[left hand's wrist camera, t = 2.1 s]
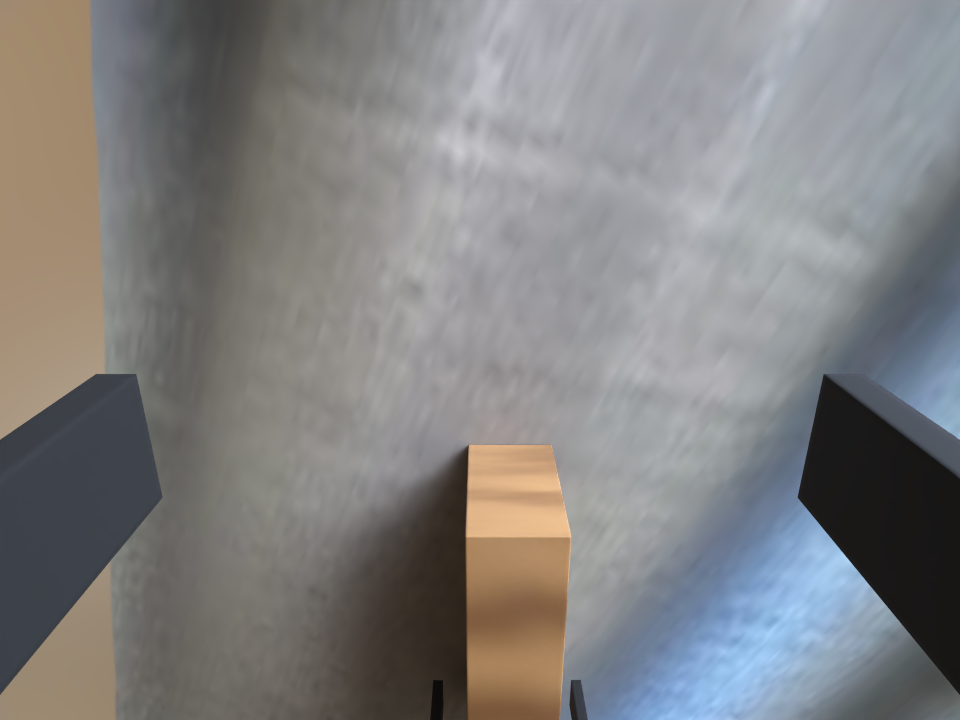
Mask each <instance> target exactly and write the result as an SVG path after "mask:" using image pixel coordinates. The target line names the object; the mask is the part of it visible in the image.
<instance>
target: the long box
mask: <svg viewBox="0 0 960 720" xmlns="http://www.w3.org/2000/svg"><path fill="white" fill-rule="evenodd" d="M465 546H466V646H467V720H560V709H561V693H562V677H563V661H564V645H565V629H566V613H567V597H568V581H569V565H570V549H571V534H570V529H569V524H568V520H567V515H566V510H565V506H564V501H563V496H562V492H561V487H560V482H559V478H558V473H557V468H556V464H555V459H554V454H553V450H552V446H551V445H469V447H468V476H467V505H466V534H465Z"/></svg>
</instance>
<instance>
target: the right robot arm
mask: <svg viewBox="0 0 960 720" xmlns="http://www.w3.org/2000/svg"><path fill="white" fill-rule="evenodd" d="M570 711H571V717H572V720H588V719H587V713H586V708H585V702H584V696H583V691H582V685H581V680H571V692H570ZM430 720H443V680H433V692H432V705H431V717H430Z"/></svg>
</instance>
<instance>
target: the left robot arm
mask: <svg viewBox="0 0 960 720" xmlns="http://www.w3.org/2000/svg"><path fill="white" fill-rule="evenodd" d="M161 498H162V493H161V489H160V484H159V479H158V475H157V470H156V465H155V460H154V456H153V451H152V446H151V442H150V437H149V432H148V427H147V423H146V418H145V413H144V409H143V404H142V399H141V394H140V390H139V385H138V380H137V376H136V374H96V375H94V376H93V377H91V378H90V379H88V380H87V381H85V382H84V383H83V384H81V385H80V386H78V387H77V388H75V389H74V390H72V391H71V392H69V393H68V394H67V395H65V396H64V397H62V398H61V399H59V400H58V401H56V402H55V403H53V404H52V405H50V406H49V407H47V408H46V409H45V410H43V411H42V412H40V413H39V414H37V415H36V416H34V417H33V418H31V419H30V420H29V421H27V422H26V423H24V424H23V425H21V426H20V427H18V428H17V429H15V430H14V431H12V432H11V433H10V434H8V435H7V436H5V437H4V438H2V439H1V440H0V694H1V693H2V692H3V691H4V689H5V688H6V687H7V686H8V685H9V683H10V682H11V681H12V680H13V678H14V677H15V676H16V675H17V674H18V672H19V671H20V670H21V669H22V667H23V666H24V665H25V664H26V663H27V661H28V660H29V659H30V658H31V656H32V655H33V654H34V653H35V652H36V650H37V649H38V648H39V647H40V646H41V644H42V643H43V642H44V641H45V640H46V638H47V637H48V636H49V635H50V633H51V632H52V631H53V630H54V629H55V627H56V626H57V625H58V624H59V622H60V621H61V620H62V619H63V618H64V616H65V615H66V614H67V613H68V612H69V610H70V609H71V608H72V607H73V605H74V604H75V603H76V602H77V601H78V599H79V598H80V597H81V596H82V594H83V593H84V592H85V591H86V590H87V588H88V587H89V586H90V585H91V584H92V582H93V581H94V580H95V579H96V577H97V576H98V575H99V574H100V573H101V571H102V570H103V569H104V568H105V567H106V565H107V564H108V563H109V562H110V560H111V559H112V558H113V557H114V556H115V554H116V553H117V552H118V551H119V550H120V548H121V547H122V546H123V545H124V543H125V542H126V541H127V540H128V539H129V537H130V536H131V535H132V534H133V533H134V531H135V530H136V529H137V528H138V526H139V525H140V524H141V523H142V522H143V520H144V519H145V518H146V517H147V516H148V514H149V513H150V512H151V511H152V509H153V508H154V507H155V506H156V505H157V503H158V502H159V501H160V500H161ZM798 498H799V500H800V501H801V502H802V503H803V505H804V506H805V507H806V508H807V509H808V511H809V512H810V513H811V514H812V516H813V517H814V518H815V519H816V520H817V522H818V523H819V524H820V525H821V526H822V528H823V529H824V530H825V531H826V533H827V534H828V535H829V536H830V537H831V539H832V540H833V541H834V542H835V543H836V545H837V546H838V547H839V548H840V550H841V551H842V552H843V553H844V554H845V556H846V557H847V558H848V559H849V560H850V562H851V563H852V564H853V565H854V567H855V568H856V569H857V570H858V571H859V573H860V574H861V575H862V576H863V578H864V579H865V580H866V581H867V582H868V584H869V585H870V586H871V587H872V588H873V590H874V591H875V592H876V593H877V595H878V596H879V597H880V598H881V599H882V601H883V602H884V603H885V604H886V605H887V607H888V608H889V609H890V610H891V612H892V613H893V614H894V615H895V616H896V618H897V619H898V620H899V621H900V623H901V624H902V625H903V626H904V627H905V629H906V630H907V631H908V632H909V633H910V635H911V636H912V637H913V638H914V640H915V641H916V642H917V643H918V644H919V646H920V647H921V648H922V649H923V650H924V652H925V653H926V654H927V655H928V657H929V658H930V659H931V660H932V661H933V663H934V664H935V665H936V666H937V667H938V669H939V670H940V671H941V672H942V674H943V675H944V676H945V677H946V678H947V680H948V681H949V682H950V683H951V685H952V686H953V687H954V688H955V689H956V691H957V692H958V693H959V694H960V440H959V439H958V438H956V437H955V436H953V435H952V434H950V433H949V432H948V431H946V430H945V429H943V428H942V427H940V426H939V425H937V424H936V423H934V422H933V421H931V420H930V419H929V418H927V417H926V416H924V415H923V414H921V413H920V412H918V411H917V410H915V409H914V408H913V407H911V406H910V405H908V404H907V403H905V402H904V401H902V400H901V399H899V398H898V397H896V396H895V395H894V394H892V393H891V392H889V391H888V390H886V389H885V388H883V387H882V386H880V385H879V384H877V383H876V382H875V381H873V380H872V379H870V378H869V377H867V376H866V375H864V374H824V376H823V380H822V385H821V390H820V394H819V399H818V404H817V409H816V413H815V418H814V423H813V427H812V432H811V437H810V442H809V446H808V451H807V456H806V460H805V465H804V470H803V475H802V479H801V484H800V489H799V493H798Z"/></svg>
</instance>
